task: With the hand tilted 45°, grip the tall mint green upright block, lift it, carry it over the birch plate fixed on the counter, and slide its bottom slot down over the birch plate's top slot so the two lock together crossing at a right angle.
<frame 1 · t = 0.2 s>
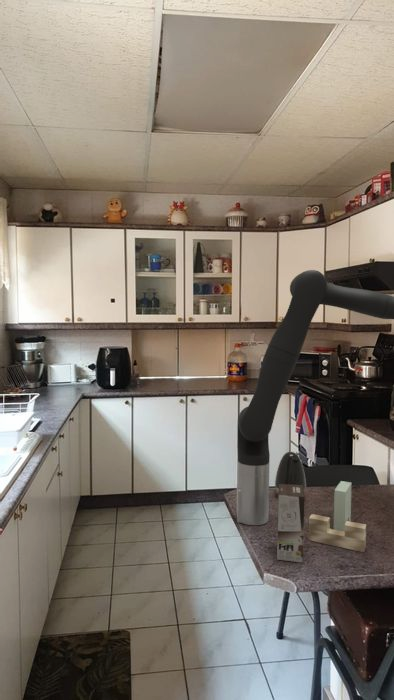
mint green upright block: (342, 528, 131), on the table
dark grey rounded-top part: (290, 497, 156), on the table
birch slotted plate: (336, 543, 121), on the table
coffee box: (289, 553, 116), on the table
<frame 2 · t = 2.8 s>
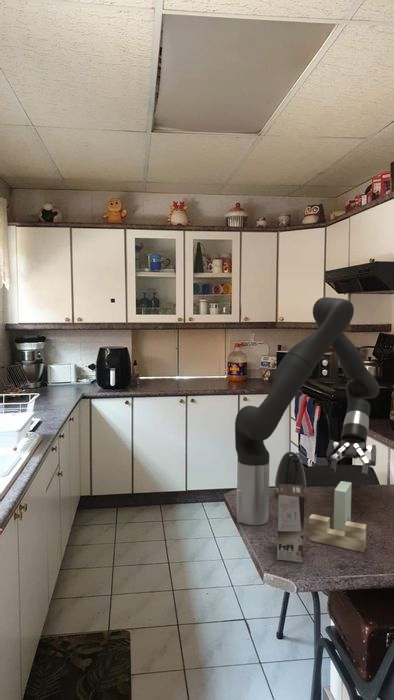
hand: (348, 474, 138), 13 cm above the table, tool tilted 45°, fingers open, 8 cm apart
nothing on the table moved.
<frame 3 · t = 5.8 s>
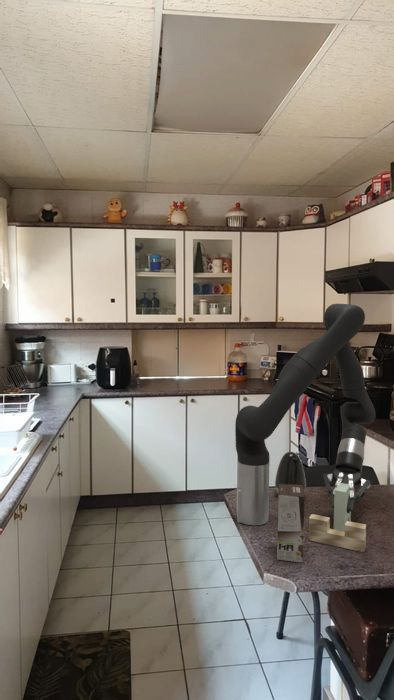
hand: (341, 510, 129), 6 cm above the table, tool tilted 45°, fingers closed on mint green upright block, 3 cm apart
mint green upright block: (342, 528, 131), on the table, touching gripper
everything else where it was.
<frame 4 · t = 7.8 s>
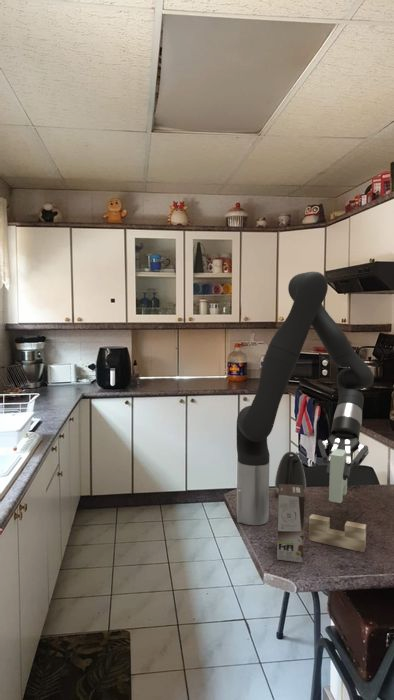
hand: (337, 477, 120), 18 cm above the table, tool tilted 45°, fingers closed on mint green upright block, 3 cm apart
mint green upright block: (338, 496, 123), point 12 cm above the table, touching gripper
everything else where it was.
when the fingers open (7 cm above the table, at t = 10.2 s): mint green upright block stays where it is, resting on birch slotted plate.
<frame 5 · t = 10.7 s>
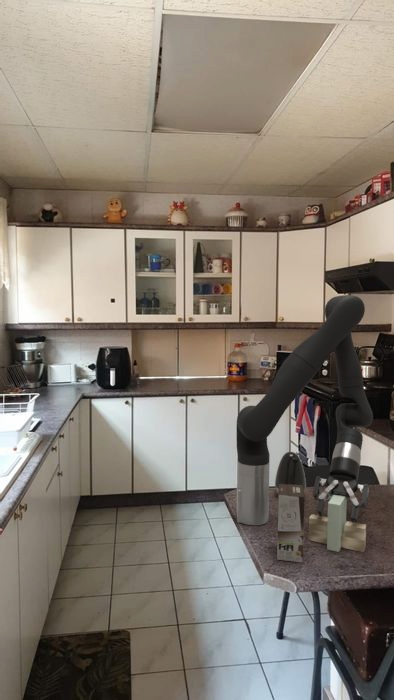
hand: (336, 518, 120), 7 cm above the table, tool tilted 45°, fingers open, 7 cm apart
mint green upright block: (336, 543, 122), resting on birch slotted plate
everything else where it was.
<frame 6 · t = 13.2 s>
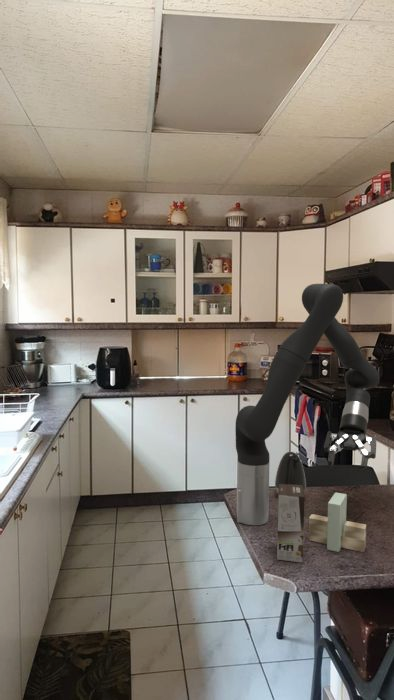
hand: (346, 466, 131), 17 cm above the table, tool tilted 45°, fingers open, 8 cm apart
nothing on the table moved.
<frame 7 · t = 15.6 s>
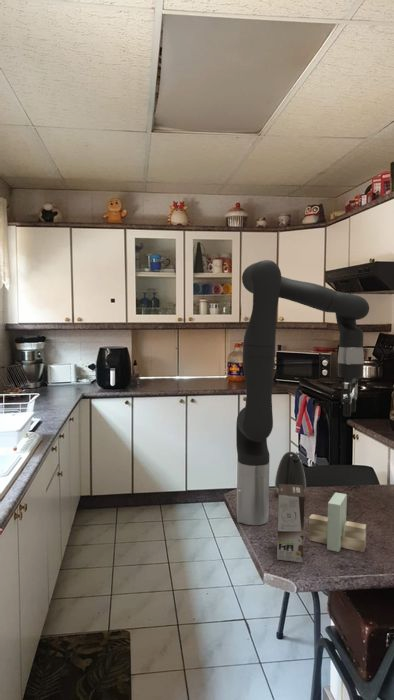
hand: (349, 414, 144), 30 cm above the table, tool pointing down, fingers open, 8 cm apart
nothing on the table moved.
at the end: mint green upright block 0.0 cm off-centre on the birch slotted plate, point 0.0 cm above the birch slotted plate's base; mint green upright block tilted 0°; the gripper is holding nothing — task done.
